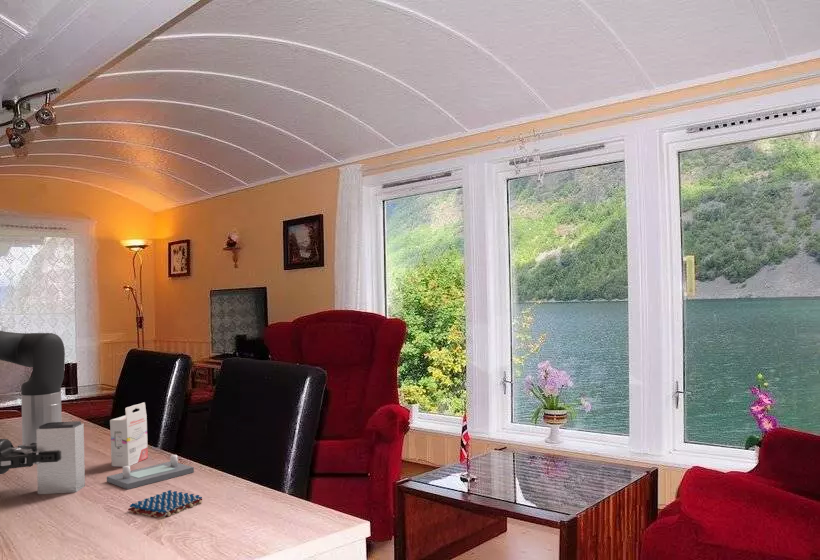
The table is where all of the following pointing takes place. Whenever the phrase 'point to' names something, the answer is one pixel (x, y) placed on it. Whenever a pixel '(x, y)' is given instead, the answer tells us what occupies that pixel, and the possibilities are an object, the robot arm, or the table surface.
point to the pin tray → (149, 474)
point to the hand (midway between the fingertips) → (64, 453)
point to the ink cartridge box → (129, 437)
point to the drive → (61, 457)
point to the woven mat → (165, 504)
